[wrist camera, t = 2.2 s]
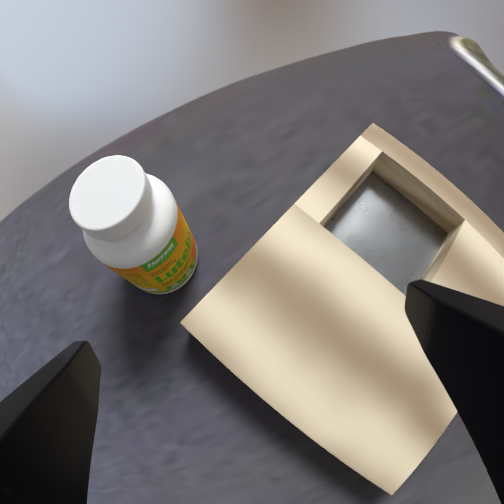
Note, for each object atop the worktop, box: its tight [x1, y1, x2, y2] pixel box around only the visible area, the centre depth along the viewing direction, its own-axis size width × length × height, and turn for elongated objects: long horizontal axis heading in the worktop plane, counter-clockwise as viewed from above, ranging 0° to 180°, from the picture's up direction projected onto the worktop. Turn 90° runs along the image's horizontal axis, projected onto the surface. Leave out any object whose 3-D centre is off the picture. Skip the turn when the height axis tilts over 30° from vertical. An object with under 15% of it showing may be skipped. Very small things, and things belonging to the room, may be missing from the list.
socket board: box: [180, 123, 504, 495], centre depth 19 cm, size 20×17×3 cm
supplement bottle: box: [69, 155, 198, 294], centre depth 18 cm, size 5×5×10 cm
